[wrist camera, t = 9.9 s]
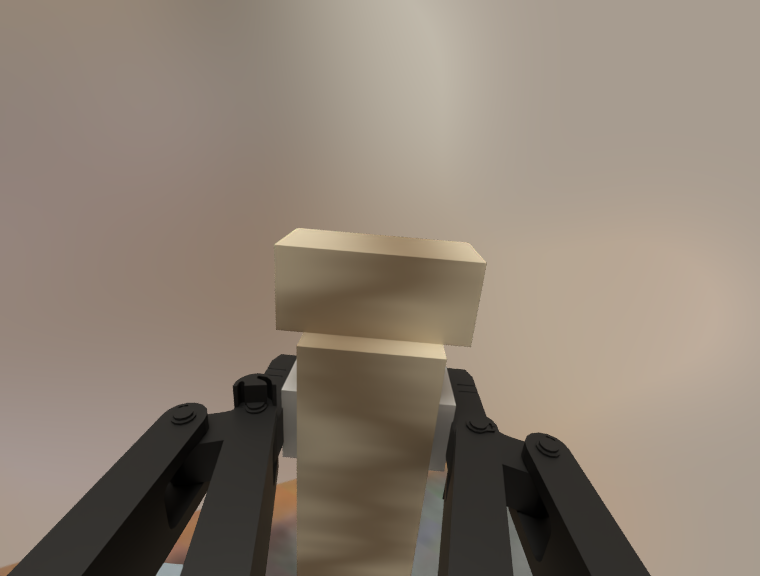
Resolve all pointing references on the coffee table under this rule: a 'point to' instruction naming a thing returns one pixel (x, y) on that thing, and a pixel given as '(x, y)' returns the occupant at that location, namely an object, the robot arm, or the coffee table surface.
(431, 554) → the coffee table surface
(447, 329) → the key
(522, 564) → the coffee table surface
